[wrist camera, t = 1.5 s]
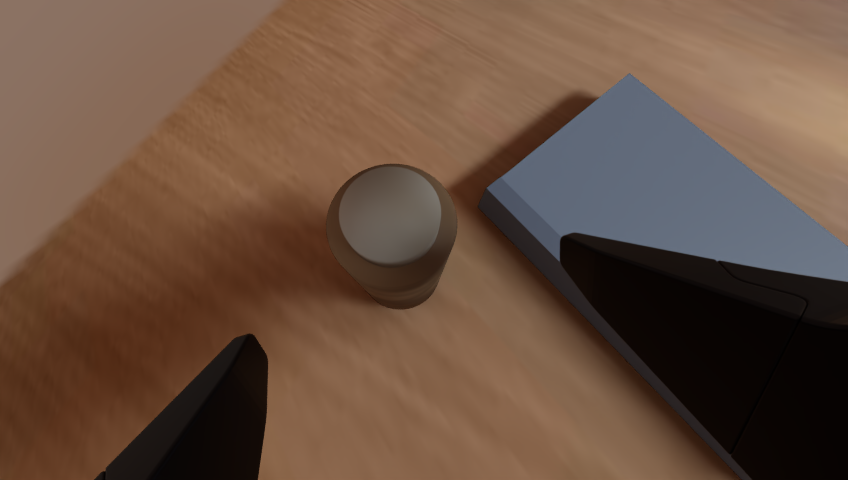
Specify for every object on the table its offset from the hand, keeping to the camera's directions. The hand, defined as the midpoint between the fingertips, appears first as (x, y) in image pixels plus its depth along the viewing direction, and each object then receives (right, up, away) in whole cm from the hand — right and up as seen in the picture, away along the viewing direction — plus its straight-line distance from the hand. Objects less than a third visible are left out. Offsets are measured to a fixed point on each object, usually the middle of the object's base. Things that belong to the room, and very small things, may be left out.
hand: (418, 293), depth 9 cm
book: (+16, 0, +13) cm, 21 cm away
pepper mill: (-1, 0, +12) cm, 12 cm away
